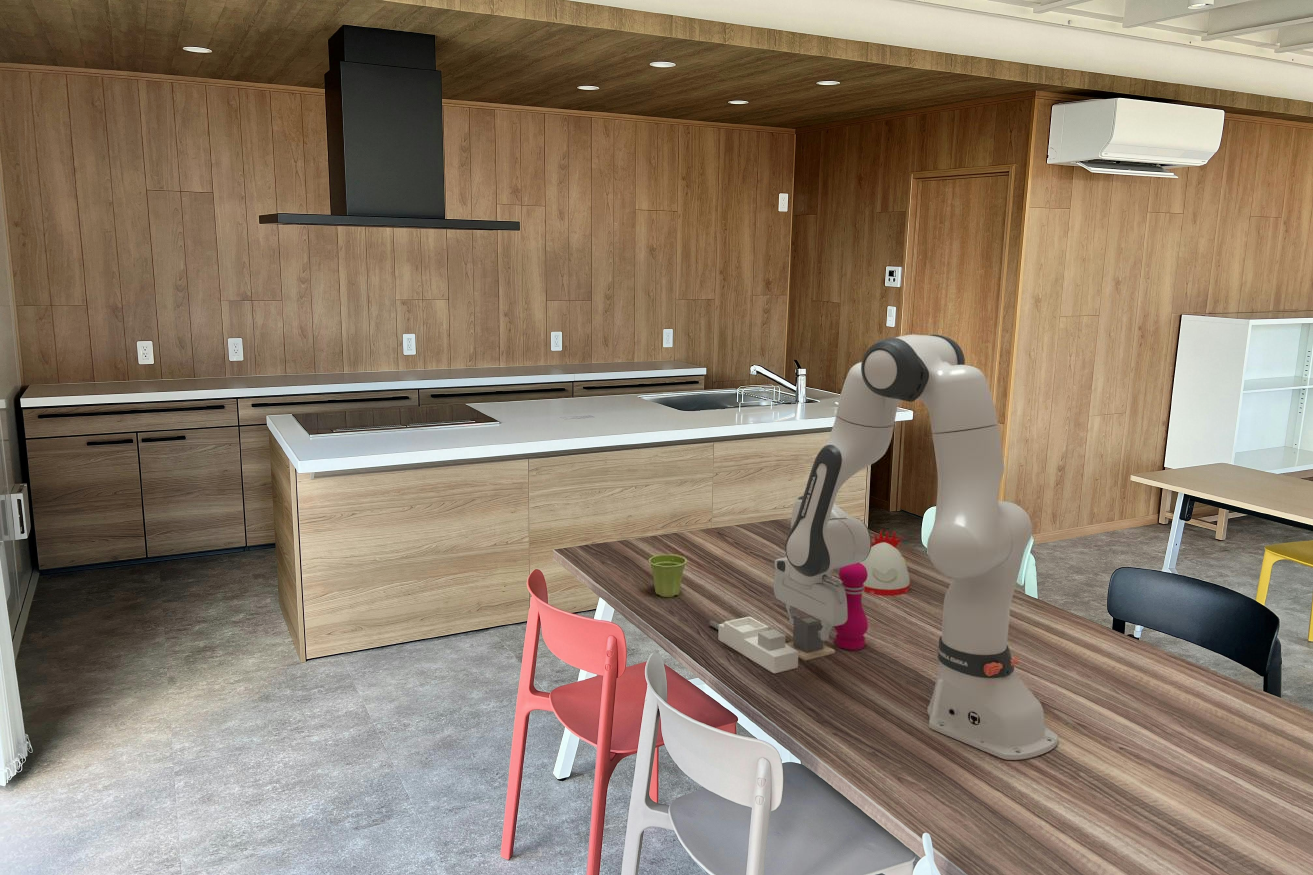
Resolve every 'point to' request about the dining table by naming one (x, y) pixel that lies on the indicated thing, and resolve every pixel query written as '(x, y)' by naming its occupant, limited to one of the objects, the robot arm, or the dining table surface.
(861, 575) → the pepper mill
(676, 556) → the plant pot
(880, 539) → the kitchen timer
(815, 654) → the coaster
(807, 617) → the block
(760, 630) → the power strip
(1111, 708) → the dining table surface
